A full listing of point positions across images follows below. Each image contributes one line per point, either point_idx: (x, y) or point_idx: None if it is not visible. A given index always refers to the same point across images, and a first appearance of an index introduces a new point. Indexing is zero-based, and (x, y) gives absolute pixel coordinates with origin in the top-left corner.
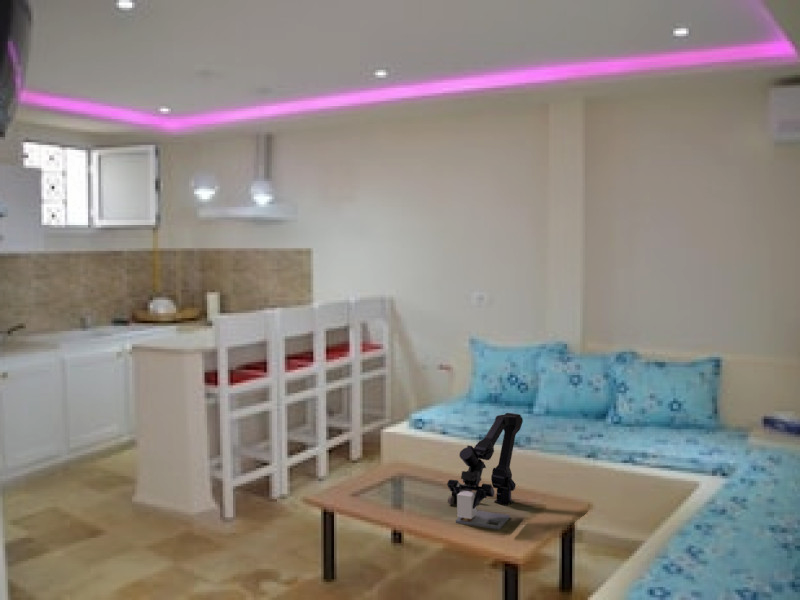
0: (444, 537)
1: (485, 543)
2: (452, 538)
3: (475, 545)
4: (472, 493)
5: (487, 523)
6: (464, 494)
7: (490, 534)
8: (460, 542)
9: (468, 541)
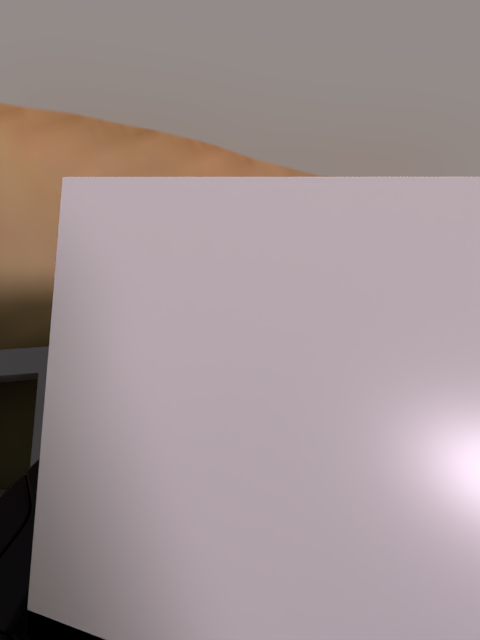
0: (267, 162)
1: (6, 169)
2: (221, 165)
3: (59, 128)
4: (151, 599)
5: (42, 422)
6: (388, 278)
7: (8, 313)
8: (156, 135)
9: (118, 160)
